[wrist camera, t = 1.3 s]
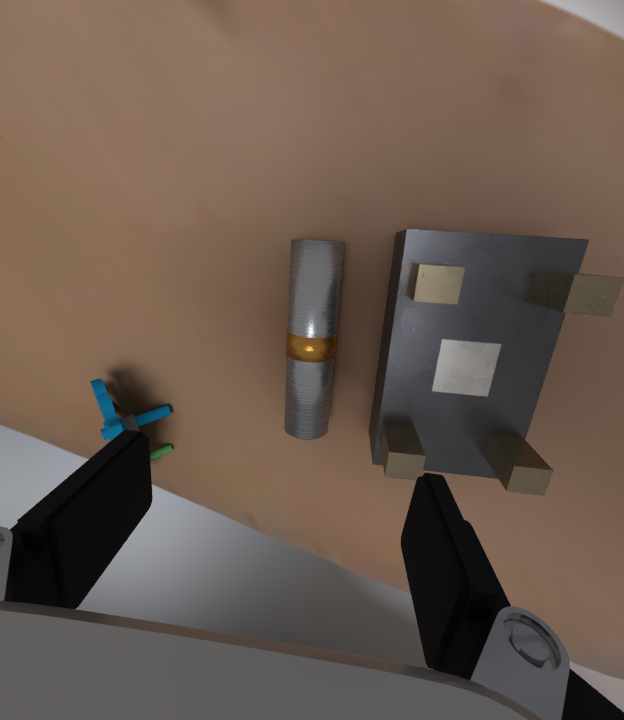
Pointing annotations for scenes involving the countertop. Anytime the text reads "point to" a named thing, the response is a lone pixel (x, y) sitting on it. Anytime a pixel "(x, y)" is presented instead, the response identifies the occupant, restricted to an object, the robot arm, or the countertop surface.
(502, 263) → the grey plate with feet
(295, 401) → the tube
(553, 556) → the countertop surface
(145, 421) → the gear
